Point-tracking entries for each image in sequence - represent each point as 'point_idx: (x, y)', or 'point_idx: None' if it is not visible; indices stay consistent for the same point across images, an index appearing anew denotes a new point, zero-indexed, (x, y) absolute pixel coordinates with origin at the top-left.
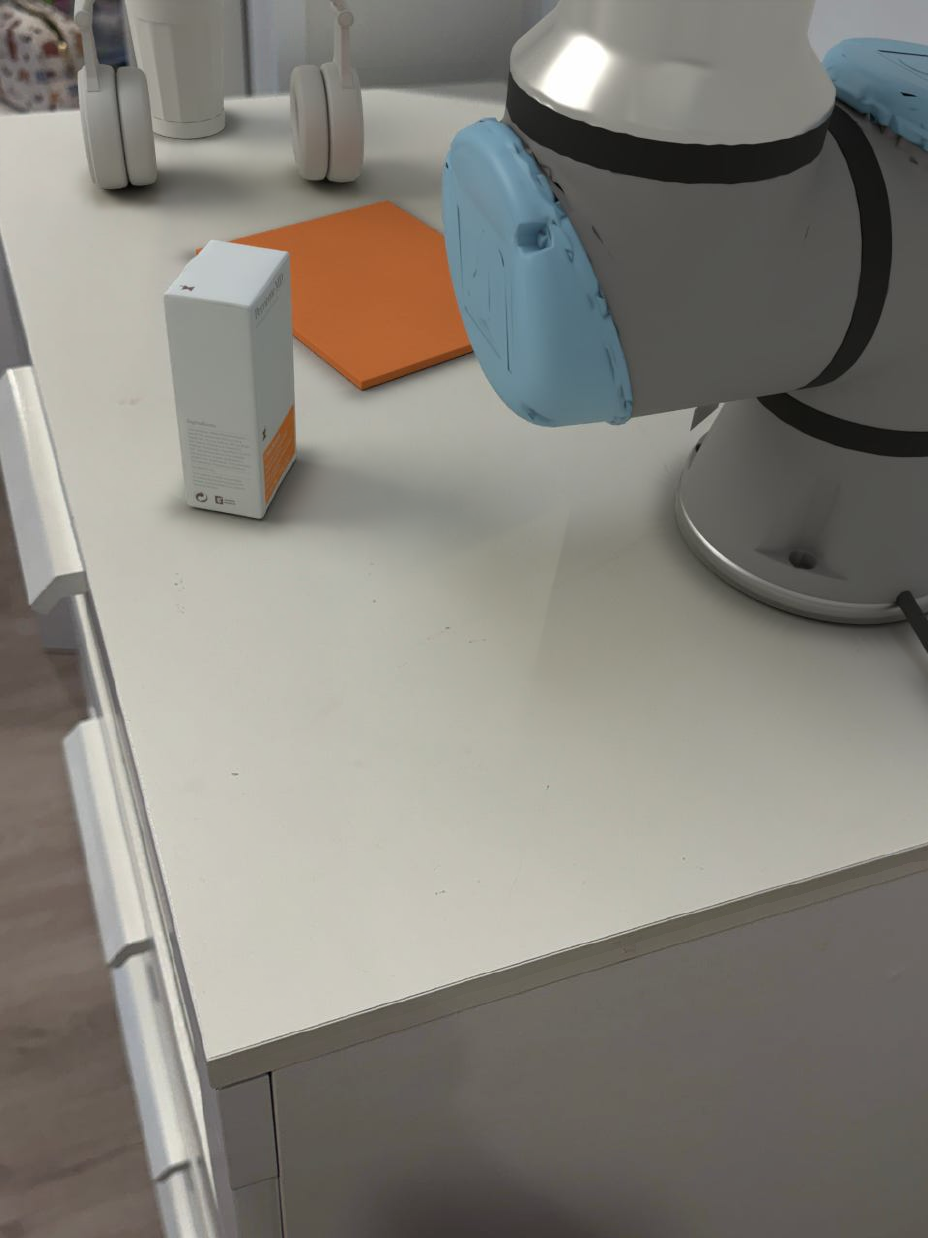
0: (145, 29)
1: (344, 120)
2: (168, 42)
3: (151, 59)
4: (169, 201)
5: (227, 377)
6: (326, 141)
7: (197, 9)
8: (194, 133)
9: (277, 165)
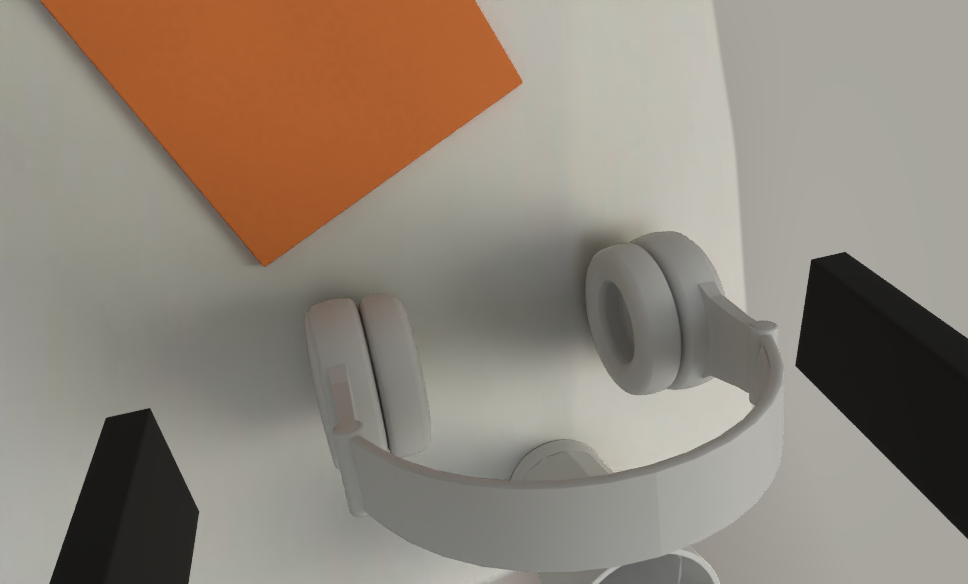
0: None
1: (337, 320)
2: None
3: None
4: (563, 248)
5: None
6: (363, 303)
7: None
8: (546, 447)
9: (431, 380)
